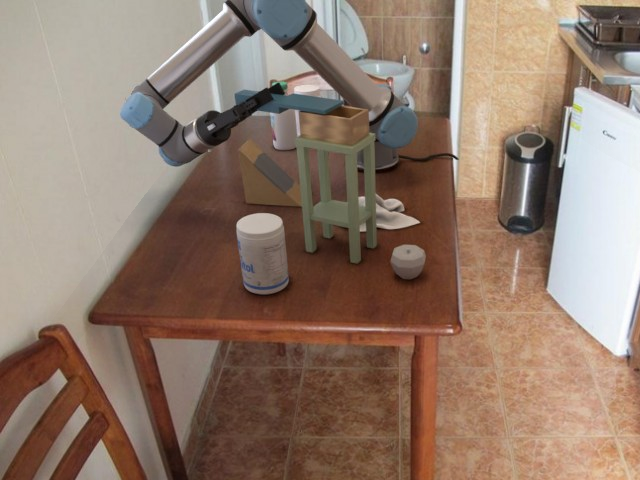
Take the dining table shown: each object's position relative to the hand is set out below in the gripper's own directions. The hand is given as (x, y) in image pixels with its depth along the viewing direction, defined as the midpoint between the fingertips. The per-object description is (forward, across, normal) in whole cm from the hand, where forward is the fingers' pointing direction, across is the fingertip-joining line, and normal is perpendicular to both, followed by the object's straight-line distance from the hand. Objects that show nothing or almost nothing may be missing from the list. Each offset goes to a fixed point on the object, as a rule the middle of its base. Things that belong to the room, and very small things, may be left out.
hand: (275, 91), depth 141 cm
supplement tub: (-10, +21, -34) cm, 41 cm away
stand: (-5, 0, -37) cm, 38 cm away
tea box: (+8, 0, -14) cm, 16 cm away
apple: (+12, +4, -47) cm, 49 cm away
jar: (-48, -66, -12) cm, 82 cm away
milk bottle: (-48, -51, -12) cm, 72 cm away
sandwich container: (-30, -17, -23) cm, 42 cm away
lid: (0, 0, -5) cm, 5 cm away
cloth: (-5, -19, -37) cm, 42 cm away
